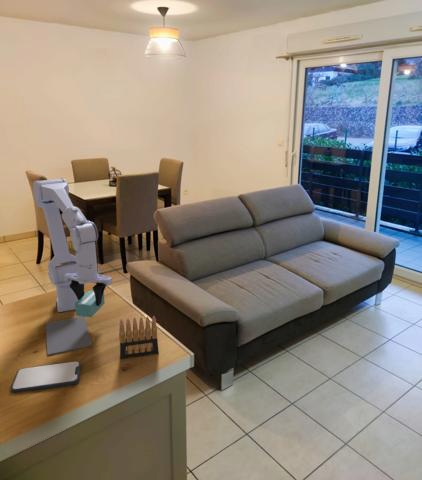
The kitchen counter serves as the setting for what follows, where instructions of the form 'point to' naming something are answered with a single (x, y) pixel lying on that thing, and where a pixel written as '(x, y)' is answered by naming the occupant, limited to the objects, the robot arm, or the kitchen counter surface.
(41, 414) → the kitchen counter surface
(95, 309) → the card box
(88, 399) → the kitchen counter surface
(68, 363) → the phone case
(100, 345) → the kitchen counter surface
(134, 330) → the ammunition clip
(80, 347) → the mat
